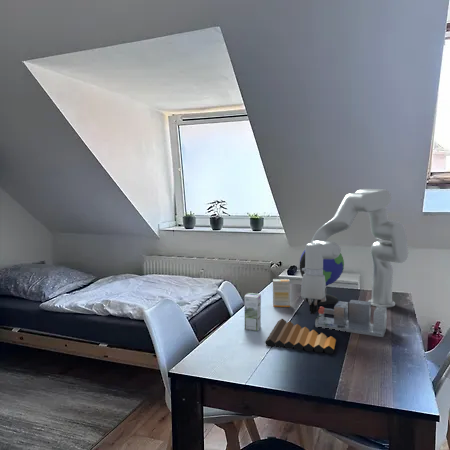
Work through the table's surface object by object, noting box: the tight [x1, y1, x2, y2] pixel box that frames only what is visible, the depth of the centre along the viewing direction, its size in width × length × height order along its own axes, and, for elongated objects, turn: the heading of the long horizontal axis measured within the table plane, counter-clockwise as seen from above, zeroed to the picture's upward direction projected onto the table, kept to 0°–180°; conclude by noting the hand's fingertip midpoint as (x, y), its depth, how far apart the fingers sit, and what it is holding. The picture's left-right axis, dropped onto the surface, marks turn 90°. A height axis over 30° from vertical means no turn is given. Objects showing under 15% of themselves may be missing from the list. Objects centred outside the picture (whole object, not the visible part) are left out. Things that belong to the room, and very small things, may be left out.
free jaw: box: [317, 300, 349, 326], centre depth 180 cm, size 9×12×8 cm
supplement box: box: [272, 278, 291, 308], centre depth 208 cm, size 8×5×13 cm, turn 84°
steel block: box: [348, 299, 372, 329], centre depth 175 cm, size 5×8×10 cm, turn 63°
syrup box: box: [243, 292, 262, 332], centre depth 176 cm, size 6×6×14 cm
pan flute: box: [264, 318, 337, 355], centre depth 166 cm, size 25×3×25 cm
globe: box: [299, 249, 345, 306], centre depth 217 cm, size 22×22×30 cm
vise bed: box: [314, 306, 388, 338], centre depth 176 cm, size 11×27×9 cm, turn 63°
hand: (313, 313), depth 184 cm, fingers closed
